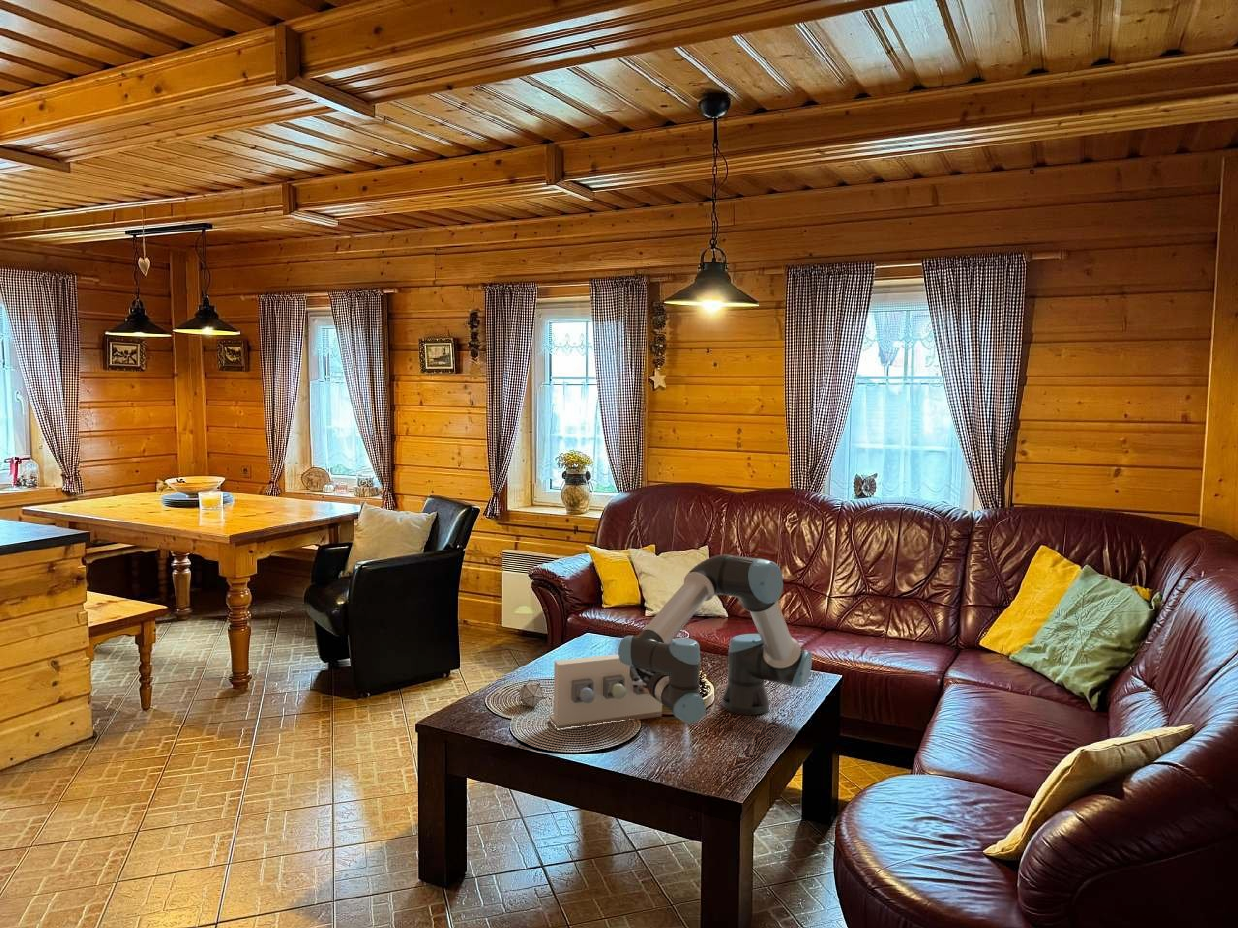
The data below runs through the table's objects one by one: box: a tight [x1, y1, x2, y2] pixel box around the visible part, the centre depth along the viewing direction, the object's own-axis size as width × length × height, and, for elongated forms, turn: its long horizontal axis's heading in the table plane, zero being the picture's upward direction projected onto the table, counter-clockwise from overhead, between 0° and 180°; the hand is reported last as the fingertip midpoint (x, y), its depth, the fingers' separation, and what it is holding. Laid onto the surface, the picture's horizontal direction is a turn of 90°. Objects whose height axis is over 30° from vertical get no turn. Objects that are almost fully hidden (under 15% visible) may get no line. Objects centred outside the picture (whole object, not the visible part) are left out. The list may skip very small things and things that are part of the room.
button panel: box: [549, 653, 663, 728], centre depth 255 cm, size 11×34×20 cm, turn 112°
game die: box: [516, 678, 546, 709], centre depth 265 cm, size 9×8×10 cm
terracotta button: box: [642, 685, 651, 695], centre depth 251 cm, size 2×4×4 cm, turn 112°
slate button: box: [579, 687, 595, 703], centre depth 244 cm, size 2×4×4 cm, turn 112°
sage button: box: [611, 684, 626, 699], centre depth 247 cm, size 2×4×4 cm, turn 112°
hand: (631, 661), depth 238 cm, fingers closed
